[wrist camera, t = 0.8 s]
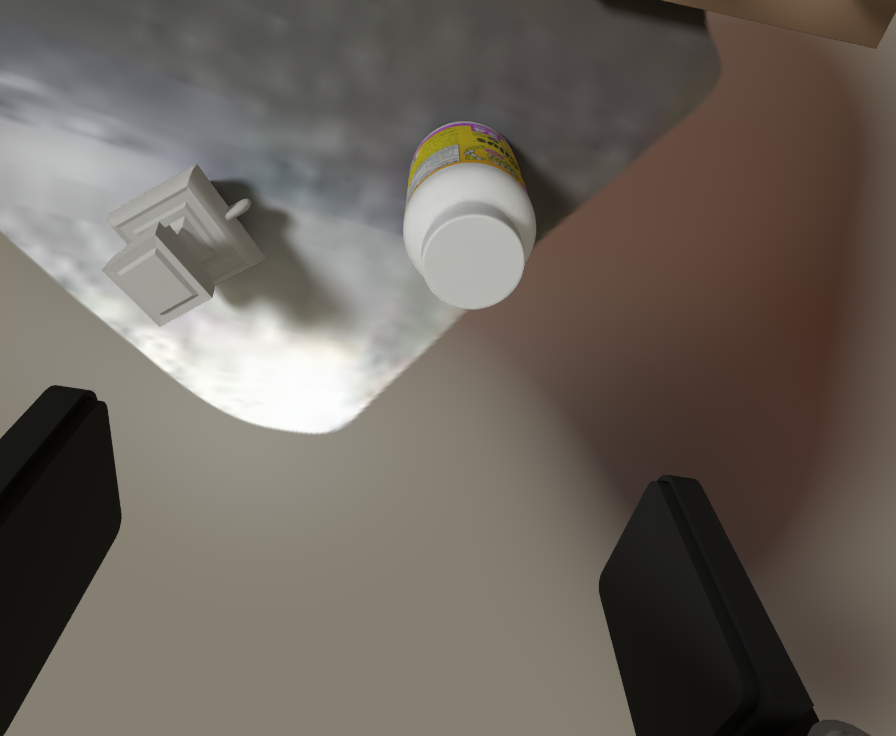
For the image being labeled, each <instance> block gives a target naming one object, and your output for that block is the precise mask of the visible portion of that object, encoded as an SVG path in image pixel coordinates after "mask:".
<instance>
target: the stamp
mask: <svg viewBox="0 0 896 736" xmlns="http://www.w3.org/2000/svg"><path fill="white" fill-rule="evenodd" d="M250 206H251V201H250V200H249V199H243V200H241V201H239V202H237V203H235V204H233V205H231V206H228V205H227V204H226V203H225V201H224V200H223V199H222V197H221V196H220V195H219V193H218V192H217V190H216V189H215V188H214V186H213V185H212V184H211V182H210V181H209V180H208V178H207V177H206V176H205V174H204V173H203V171H202V170H201V169H200V167H199V166H198V165H197V164H195V165H194V166H192V167H190V168H188V169H187V170H185V171H183V172H181V173H180V174H178V175H176V176H174V177H172V178H171V179H169V180H167V181H165V182H164V183H162V184H160V185H158V186H157V187H155V188H153V189H151V190H150V191H148V192H146V193H144V194H143V195H141V196H139V197H137V198H135V199H134V200H132V201H130V202H128V203H127V204H125V205H123V206H121V207H120V208H118V209H116V210H114V211H113V212H111V213H109V215H108V217H107V221H108V223H109V224H110V226H111V227H112V228H113V229H114V230H115V231H116V232H117V234H118V235H119V236H120V237H121V238H122V239H123V241H124V242H125V243H126V244H127V245H128V246H127V247H125V248H124V249H123V250H121V251H120V252H119V253H118V254H116V255H115V256H114V257H112V258H111V260H110V261H109V262H108V263H107V264H106V265H105V267H104V268H103V269H102V271H103V272H104V273H105V274H106V275H107V276H108V277H109V278H110V279H111V280H112V281H113V282H114V283H115V284H116V285H117V286H118V287H119V288H120V289H121V290H122V291H124V292H125V293H126V294H127V295H128V296H129V297H130V298H131V299H132V300H133V301H134V302H135V303H136V304H137V305H138V306H139V307H140V308H141V309H142V310H143V311H144V312H145V313H146V314H147V315H148V316H149V317H150V318H151V319H152V320H153V321H154V322H155V323H156V324H157V325H158V326H159V327H161V326H162V325H164V324H166V323H168V322H170V321H171V320H173V319H175V318H177V317H179V316H181V315H182V314H184V313H186V312H188V311H190V310H191V309H193V308H195V307H197V306H199V305H200V304H202V303H204V302H206V301H208V300H210V299H211V298H212V297H213V292H214V288H215V285H217V284H219V283H221V282H223V281H225V280H227V279H229V278H231V277H233V276H235V275H237V274H239V273H241V272H243V271H245V270H247V269H249V268H251V267H253V266H255V265H257V264H259V263H261V262H262V261H263V260H264V259H265V258H266V257H265V256H264V254H263V253H262V252H261V250H260V249H259V248H258V246H257V245H256V244H255V242H254V241H253V239H252V238H251V237H250V235H249V234H248V233H247V231H246V230H245V229H244V227H243V226H242V224H241V223H240V222H239V220H238V219H237V218H236V217H238V216H239V215H241V214H242V213H244V212H245V211H247V210H248V209H249V208H250Z"/></svg>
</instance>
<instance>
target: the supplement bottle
mask: <svg viewBox="0 0 896 736" xmlns="http://www.w3.org/2000/svg"><path fill="white" fill-rule="evenodd" d="M403 236H404V243H405V247H406V250H407V253H408V256H409V258H410V260H411V262H412V263H413V265H414V266H415V268H416V269H417V270H418V272H419V273H420V274H421V275H422V276H423V277H424V278H425V281H426V283H427V285H428V286H429V288H430V289H431V291H432V292H433V293H434V294H435V295H436V296H437V297H438V298H439V299H441V300H442V301H444V302H446V303H447V304H449V305H452V306H455V307H458V308H463V309H481V308H485V307H489V306H491V305H494V304H496V303H498V302H500V301H502V300H503V299H505V298H506V297H507V296H508V295H509V294H510V293H511V292H512V291H513V290H514V289H515V287H516V286H517V285H518V283H519V281H520V279H521V277H522V275H523V271H524V267H525V263H526V262H527V260H528V258H529V256H530V254H531V252H532V249H533V246H534V242H535V237H536V219H535V214H534V210H533V207H532V204H531V201H530V198H529V196H528V193H527V190H526V187H525V183H524V181H523V178H522V175H521V172H520V169H519V166H518V163H517V161H516V158H515V156H514V154H513V151H512V149H511V148H510V146H509V144H508V143H507V142H506V140H505V139H504V138H503V137H502V136H501V135H500V134H498V133H497V132H496V131H495V130H493V129H491V128H490V127H487V126H485V125H483V124H480V123H476V122H468V121H460V122H454V123H449V124H447V125H444V126H442V127H440V128H438V129H436V130H435V131H433V132H432V133H431V134H430V135H428V136H427V137H426V138H425V139H424V140H423V141H422V143H421V144H420V145H419V147H418V149H417V150H416V152H415V155H414V157H413V160H412V163H411V167H410V173H409V181H408V190H407V200H406V208H405V215H404V226H403Z"/></svg>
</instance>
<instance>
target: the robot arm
mask: <svg viewBox="0 0 896 736" xmlns="http://www.w3.org/2000/svg"><path fill="white" fill-rule="evenodd" d="M120 524H121V507H120V500H119V492H118V484H117V477H116V469H115V462H114V454H113V446H112V439H111V431H110V424H109V416H108V409H107V405H106V403H105V402H103V401H97V397H96V394H95V393H94V392H93V391H90V390H84V389H78V388H71V387H63V386H57V385H54V386H50V387H49V388H48V389H47V390H45V391H44V392H43V393H42V395H41V396H40V397H39V398H38V399H37V400H36V401H35V402H34V403H33V404H32V406H30V407H29V409H28V410H27V411H26V412H25V413H24V414H23V415H22V416H21V417H20V418H19V419H18V420H17V422H16V423H15V424H14V425H13V426H12V427H11V428H10V429H9V430H8V431H7V432H6V433H5V434H4V435H3V436H2V438H1V439H0V736H3V735H4V734H5V732H6V731H7V729H8V728H9V726H10V724H11V722H12V720H13V719H14V716H15V715H16V713H17V711H18V710H19V708H20V706H21V704H22V703H23V701H24V699H25V697H26V696H27V694H28V692H29V690H30V689H31V687H32V685H33V683H34V682H35V680H36V678H37V676H38V674H39V673H40V671H41V669H42V667H43V666H44V664H45V662H46V660H47V659H48V657H49V655H50V653H51V651H52V650H53V648H54V646H55V644H56V643H57V641H58V639H59V637H60V636H61V634H62V632H63V630H64V628H65V627H66V625H67V623H68V621H69V620H70V618H71V616H72V614H73V613H74V611H75V609H76V607H77V605H78V604H79V602H80V600H81V598H82V597H83V594H84V593H85V591H86V589H87V588H88V586H89V584H90V582H91V581H92V579H93V577H94V575H95V574H96V571H97V570H98V568H99V567H100V565H101V563H102V561H103V559H104V558H105V556H106V554H107V552H108V551H109V549H110V547H111V545H112V543H113V542H114V540H115V538H116V536H117V534H118V531H119V529H120ZM599 594H600V598H601V602H602V606H603V610H604V613H605V617H606V621H607V625H608V629H609V632H610V637H611V640H612V644H613V648H614V652H615V656H616V660H617V664H618V667H619V671H620V675H621V679H622V683H623V686H624V690H625V694H626V698H627V702H628V706H629V710H630V713H631V717H632V721H633V725H634V729H635V733H636V736H870V735H869V734H868V733H866V732H864V731H862V730H861V729H859V728H857V727H856V726H854V725H852V724H849V723H845V722H842V721H839V720H822V721H819V719H818V717H817V715H816V713H815V711H814V709H813V706H814V704H813V703H812V701H811V699H810V697H809V695H808V693H807V691H806V689H805V687H804V685H803V683H802V681H801V679H800V677H799V675H798V673H797V671H796V669H795V668H794V666H793V663H792V662H791V660H790V658H789V656H788V654H787V652H786V650H785V648H784V646H783V644H782V642H781V640H780V638H779V637H778V634H777V632H776V630H775V628H774V626H773V625H772V623H771V621H770V619H769V617H768V615H767V613H766V611H765V609H764V607H763V605H762V603H761V601H760V599H759V597H758V595H757V593H756V591H755V590H754V587H753V585H752V584H751V582H750V580H749V578H748V576H747V574H746V572H745V570H744V568H743V566H742V564H741V562H740V560H739V558H738V556H737V554H736V552H735V550H734V548H733V546H732V544H731V543H730V541H729V539H728V537H727V535H726V533H725V531H724V529H723V527H722V525H721V523H720V521H719V519H718V517H717V515H716V513H715V511H714V509H713V508H712V505H711V503H710V502H709V500H708V498H707V496H706V494H705V492H704V490H703V488H702V486H701V484H700V483H699V482H698V481H697V480H695V479H692V478H685V477H679V476H672V475H662V476H661V477H660V478H659V479H658V480H657V481H652V482H650V483H649V485H648V486H647V488H646V490H645V492H644V494H643V495H642V497H641V499H640V501H639V503H638V505H637V507H636V509H635V511H634V513H633V514H632V516H631V518H630V520H629V522H628V524H627V526H626V528H625V529H624V531H623V533H622V535H621V537H620V539H619V541H618V543H617V545H616V547H615V548H614V550H613V552H612V554H611V556H610V558H609V560H608V562H607V564H606V565H605V568H604V569H603V571H602V573H601V576H600V580H599Z"/></svg>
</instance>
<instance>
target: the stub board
mask: <svg viewBox="0 0 896 736" xmlns="http://www.w3.org/2000/svg"><path fill="white" fill-rule="evenodd" d="M663 1H667V2H672V3H676V4H681V5H685V6H689V7H694V8H698V9H703V10H707V11H712V12H716V13H720V14H725V15H730V16H734V17H738V18H742V19H747V20H751V21H756V22H760V23H765V24H769V25H773V26H778V27H782V28H787V29H791V30H796V31H800V32H804V33H809V34H813V35H818V36H823V37H827V38H831V39H835V40H840V41H844V42H849V43H853V44H858V45H863V46H866V47H871V48H877V46H878V44H879V42H880V40H881V38H882V36H883V34H884V33H885V31H886V29H887V27H888V25H889V23H890V21H891V20H892V18H893V16H894V14H895V12H896V0H663Z"/></svg>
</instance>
